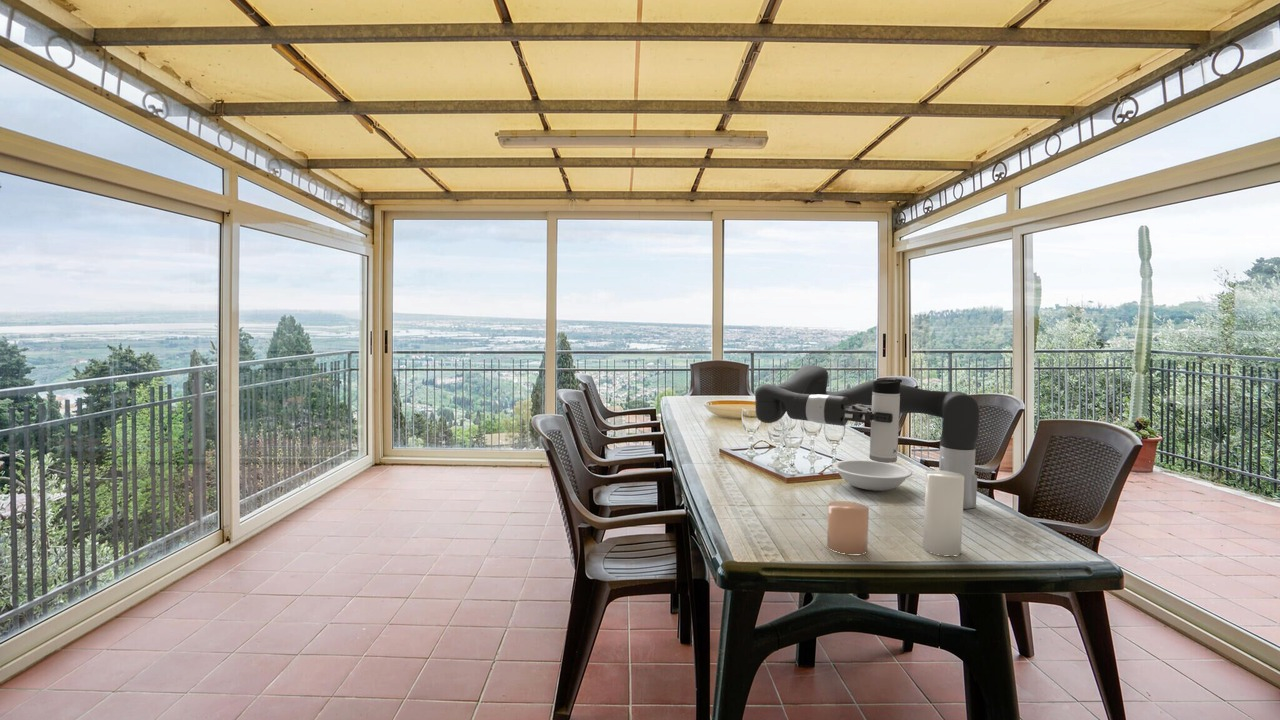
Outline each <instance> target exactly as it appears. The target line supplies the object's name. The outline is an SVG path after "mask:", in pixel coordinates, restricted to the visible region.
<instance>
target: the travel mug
mask: <svg viewBox="0 0 1280 720" xmlns="http://www.w3.org/2000/svg"><path fill="white" fill-rule="evenodd" d="M901 383H903V379H900V378H895V379H882V380H878V381H874V382H873V392H872V394H873V395H872V411H875V414H876V412H882V413H891V414H893V421H892V422H891V423H886V422H877V421H876V420H875V422H870V437H869V439H870V440H869V460H871V461H877V462H883V463H892V464H894V463H896V462H897V461H898V449H899V448H898V445H899V444H898V443H899V426H900V425H899V424H900V418H899V407H900V384H901Z"/></svg>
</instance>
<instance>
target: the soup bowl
mask: <svg viewBox="0 0 1280 720" xmlns="http://www.w3.org/2000/svg"><path fill="white" fill-rule="evenodd" d="M832 468H833V469H834V470H835V471H837V473H838V474H839V475H840V477H841V478H842V479H843V480H844V481H845V482H846V483H847V484H848V485H850V486H853V487H855V488H859V489H863V490H867V491H881V492H882V491H889V490H893V489H895V488H897V487H899V486H901V485H902V484H903V483H904V482H905V480H906V479H907V478H909V477H912V475H913V471H912V470H911V469H909V468H908V467H905V466H903V465H900V464H895V463H883V462H877V461H873V460H871V459H869V460H868V459H845V460H840V461H836V462H834V463H833V464H832Z"/></svg>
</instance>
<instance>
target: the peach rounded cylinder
mask: <svg viewBox="0 0 1280 720" xmlns="http://www.w3.org/2000/svg"><path fill="white" fill-rule="evenodd" d="M869 513H870V511H869V507H868V506H867V505H865V504H863V503H859V502H855V501H847V500H834V501H831V502H829V503H828V504H827V530H826V532H827V533H826V534H827V536H826V539H827V540H826V547H827V546H828V547H829V548H830V549H832V550H834V551H837V552H840V553H845V554H863V553H865V552H867V553H868V545H869V541H868V540H869V539H868V538H869Z"/></svg>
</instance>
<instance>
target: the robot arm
mask: <svg viewBox="0 0 1280 720" xmlns="http://www.w3.org/2000/svg"><path fill="white" fill-rule="evenodd" d="M874 381H879V380H877V379H876V380H875V379H873V380H872V379H871V380H868V381H865V382H862V383H860V384H857V385H854V386H852V387H850V388H848V389H842V390H839V391H827V387H828V382H829V373H828V370H827V369H826V368H824V367H823V366H819V365H813V364H808V365H804V366H801V367H799V369H798V370H797V371H795V373H794V374H792V375H791V376H790V377H789V378H788V379H787V380H786V381H784V382H782V383H780V384H778V385H775V384H769V383H765V384H761V385H759V386H757V387H756V389H755V391H754V392H755V393H754V395H755V400H754V401H755V416H756V418H757V419H758V420H759V422H761V423H765V424H772V423H776V422H777V421H779V420H781V419H782V418H783V417H784V416H785V414H786V413H787V417H789V418H790V419H792V420H798V421H806V422H812V423H816V424H823V425H831V426H832V425H833V426H841V427H844V426H846V425H847V423H848V422H849V421H850V422H857V423H867V424H871V422H875V420H876V421H877V422H886V423H891V422H892V421H893V414H891V413H882V412H876V414H875V411H872V395H873V394H872V392H873V382H874ZM901 414H923V415H928V416H934V417H937V418H942V431H941V435H940V441H939V463H938V465H939V466H938V470H940V471H949V472H954V473H958V474H961V475H963V476H964V498H963V510H968V509H969V510H970V509H977V496H978V495H977V494H978V493H977V492H978V475H977V474H975V470H976V469H975V467H976V449H977V447H976V446H977V441H978V438H979V425H980V406H979V404H978V402H977V401H976V399H975V398H974V397H972V396H971V395H969V394H967V393H965V392H961V391H946V390H945V391H944V390H943V391H942V390H929V389H922V388H917V387H914V386H910V385H905V384H901V383H900V407H899V419H900V417H901Z"/></svg>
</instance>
